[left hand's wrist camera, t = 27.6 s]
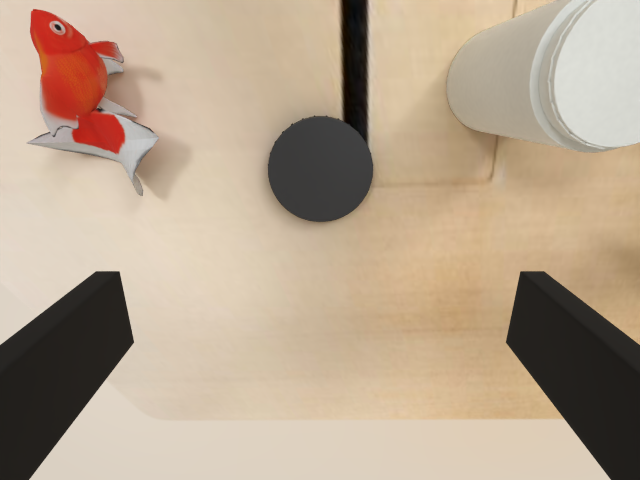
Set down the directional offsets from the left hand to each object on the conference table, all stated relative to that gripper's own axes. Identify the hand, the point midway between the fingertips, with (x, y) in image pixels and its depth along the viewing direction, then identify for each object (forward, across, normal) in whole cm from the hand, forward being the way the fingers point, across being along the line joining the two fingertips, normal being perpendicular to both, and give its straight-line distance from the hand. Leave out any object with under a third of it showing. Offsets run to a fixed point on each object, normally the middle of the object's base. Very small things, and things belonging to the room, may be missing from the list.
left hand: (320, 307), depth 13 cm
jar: (+28, +17, +8) cm, 34 cm away
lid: (+26, 0, 0) cm, 27 cm away
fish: (+28, -19, +5) cm, 34 cm away
